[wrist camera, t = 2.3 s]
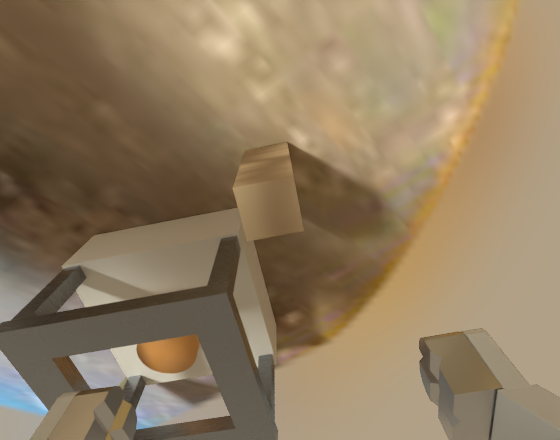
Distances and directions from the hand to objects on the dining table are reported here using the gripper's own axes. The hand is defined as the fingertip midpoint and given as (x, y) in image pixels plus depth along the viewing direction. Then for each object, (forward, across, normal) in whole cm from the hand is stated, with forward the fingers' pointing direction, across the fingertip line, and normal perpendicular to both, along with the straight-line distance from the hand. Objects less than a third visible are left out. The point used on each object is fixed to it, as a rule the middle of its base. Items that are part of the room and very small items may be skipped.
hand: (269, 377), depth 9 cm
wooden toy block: (+20, 0, 0) cm, 20 cm away
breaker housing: (+20, +10, +10) cm, 25 cm away
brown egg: (+17, +10, +10) cm, 22 cm away
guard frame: (+15, +10, +10) cm, 21 cm away
